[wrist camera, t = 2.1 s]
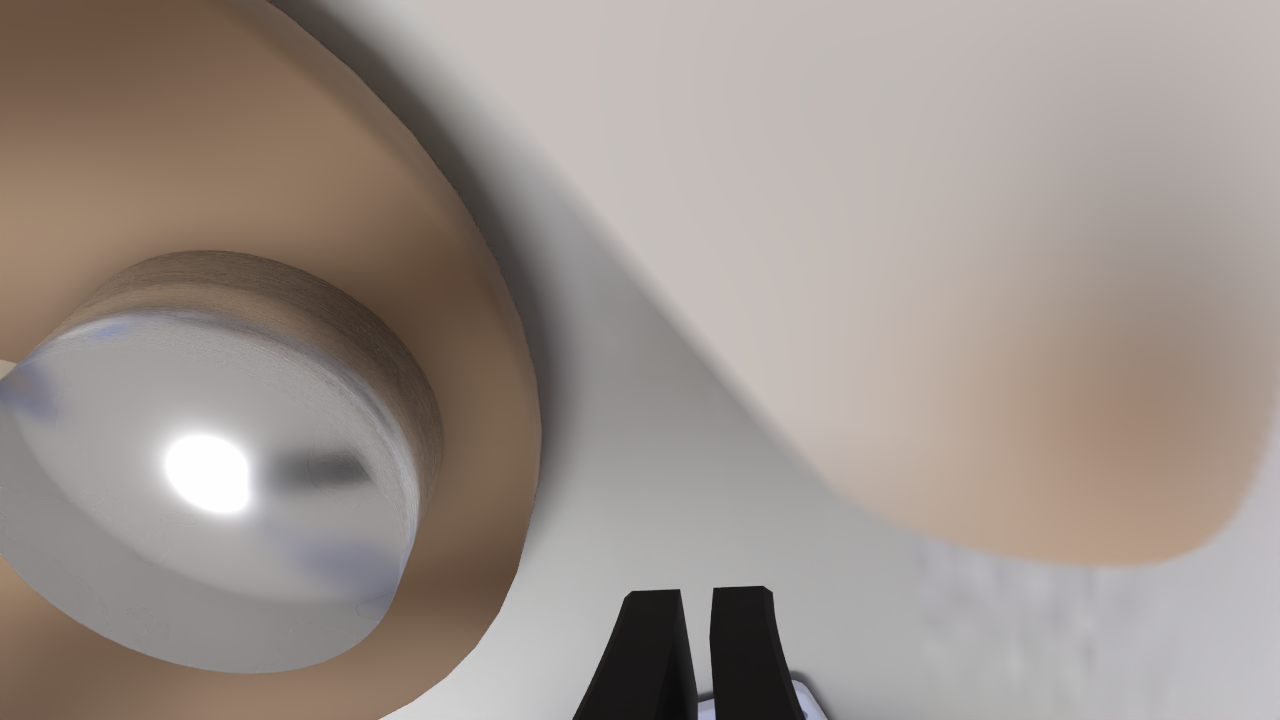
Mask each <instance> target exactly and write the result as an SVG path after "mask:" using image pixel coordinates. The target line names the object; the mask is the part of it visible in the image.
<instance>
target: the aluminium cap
mask: <svg viewBox="0 0 1280 720" xmlns="http://www.w3.org/2000/svg"><path fill="white" fill-rule="evenodd" d="M443 456H444V430H443V424H442V418H441V413H440V409H439V406H438V403H437V400H436V397H435V395H434V392H433V390H432V388H431V386H430V384H429V382H428V379H427V377H426V375H425V373H424V371H423V370H422V368H421V367H420V365H419V364H418V362H417V361H416V359H415V358H414V356H413V355H412V353H411V352H410V351H409V349H408V348H407V347H406V346H405V345H404V343H403V342H402V341H401V340H400V339H399V338H398V336H397V335H396V334H395V333H394V332H393V331H392V330H391V329H390V328H389V327H388V326H387V325H386V324H385V323H384V322H383V321H382V320H380V319H379V318H378V317H377V316H376V315H375V314H374V313H373V312H371V311H370V310H369V309H367V308H366V307H365V306H364V305H362V304H361V303H360V302H358V301H357V300H356V299H354V298H353V297H352V296H350V295H348V294H347V293H345V292H343V291H342V290H340V289H338V288H337V287H335V286H333V285H332V284H330V283H328V282H326V281H324V280H322V279H320V278H318V277H316V276H314V275H312V274H310V273H307V272H305V271H303V270H301V269H298V268H295V267H292V266H290V265H287V264H284V263H281V262H278V261H275V260H271V259H267V258H263V257H259V256H255V255H250V254H245V253H237V252H229V251H216V250H193V251H185V252H177V253H169V254H165V255H161V256H158V257H154V258H150V259H146V260H144V261H142V262H139V263H137V264H135V265H133V266H130V267H128V268H126V269H124V270H123V271H121V272H120V273H118V274H116V275H115V276H113V277H112V278H110V279H109V280H107V281H106V282H105V283H104V284H103V285H102V286H101V287H100V288H99V289H98V290H97V291H96V292H95V293H94V294H92V295H91V296H90V297H89V298H88V299H87V300H86V301H85V302H84V303H83V304H82V305H81V306H80V307H78V308H77V309H76V310H75V311H74V312H73V313H72V314H71V315H70V316H69V317H68V318H67V319H66V320H64V321H63V322H62V323H61V324H60V325H59V326H58V327H57V328H56V329H55V330H54V331H53V332H52V333H51V334H49V335H48V336H47V337H46V338H45V339H44V340H43V341H42V342H41V343H40V344H39V345H38V346H37V347H35V348H34V349H33V350H32V351H31V352H30V353H29V354H28V355H27V356H26V357H25V358H24V359H23V360H21V361H20V362H19V363H18V364H17V365H16V366H15V367H14V368H13V369H12V370H11V371H10V372H9V373H8V374H6V375H5V376H4V377H3V378H2V379H1V380H0V554H1V555H2V557H3V558H4V559H5V560H6V561H7V562H8V564H9V565H10V566H11V567H12V568H13V569H14V570H15V572H16V573H17V574H18V575H19V576H20V577H21V578H22V579H24V580H25V581H26V582H27V583H28V584H29V585H30V586H31V587H32V588H33V589H34V590H35V591H36V592H37V593H39V594H40V595H41V596H43V597H44V598H45V599H46V600H48V601H49V602H50V603H51V604H53V605H54V606H55V607H56V608H58V609H59V610H61V611H62V612H64V613H65V614H67V615H68V616H70V617H71V618H73V619H74V620H76V621H77V622H79V623H80V624H82V625H84V626H86V627H88V628H89V629H91V630H93V631H95V632H96V633H98V634H100V635H102V636H104V637H106V638H108V639H110V640H112V641H115V642H117V643H119V644H121V645H123V646H125V647H128V648H130V649H133V650H136V651H138V652H141V653H143V654H146V655H149V656H151V657H155V658H158V659H162V660H165V661H168V662H172V663H175V664H179V665H184V666H189V667H193V668H198V669H203V670H211V671H219V672H226V673H247V674H256V673H276V672H282V671H289V670H296V669H300V668H304V667H308V666H312V665H315V664H319V663H321V662H324V661H326V660H329V659H331V658H334V657H336V656H338V655H340V654H342V653H344V652H345V651H347V650H349V649H351V648H352V647H354V646H355V645H357V644H358V643H359V642H360V641H362V640H363V639H364V638H365V637H367V636H368V635H369V634H370V633H371V632H372V631H373V630H374V628H375V627H376V626H377V625H378V624H379V623H380V622H381V620H382V619H383V617H384V615H385V614H386V612H387V610H388V609H389V607H390V605H391V603H392V600H393V598H394V595H395V592H396V590H397V587H398V584H399V582H400V579H401V577H402V574H403V571H404V569H405V566H406V563H407V561H408V558H409V555H410V553H411V550H412V547H413V545H414V542H415V539H416V537H417V534H418V531H419V529H420V526H421V523H422V521H423V518H424V516H425V513H426V510H427V508H428V505H429V502H430V500H431V497H432V494H433V492H434V489H435V486H436V483H437V481H438V478H439V475H440V472H441V468H442V462H443Z"/></svg>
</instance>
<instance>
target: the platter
mask: <svg viewBox="0 0 1280 720" xmlns="http://www.w3.org/2000/svg"><path fill="white" fill-rule="evenodd" d="M193 250H216V251H229V252H237V253H245V254H250V255H255V256H259V257H263V258H267V259H271V260H275V261H278V262H281V263H284V264H287V265H290V266H292V267H295V268H298V269H301V270H303V271H305V272H307V273H310V274H312V275H314V276H316V277H318V278H320V279H322V280H324V281H326V282H328V283H330V284H332V285H333V286H335V287H337V288H338V289H340V290H342V291H343V292H345V293H347V294H348V295H350V296H352V297H353V298H354V299H356V300H357V301H358V302H360V303H361V304H362V305H364V306H365V307H366V308H367V309H369V310H370V311H371V312H373V313H374V314H375V315H376V316H377V317H378V318H379V319H380V320H382V321H383V322H384V323H385V324H386V325H387V326H388V327H389V328H390V329H391V330H392V331H393V332H394V333H395V334H396V335H397V336H398V338H399V339H400V340H401V341H402V342H403V343H404V345H405V346H406V347H407V348H408V349H409V351H410V352H411V353H412V355H413V356H414V358H415V359H416V361H417V362H418V364H419V365H420V367H421V368H422V370H423V371H424V373H425V375H426V377H427V379H428V382H429V384H430V386H431V388H432V390H433V392H434V395H435V397H436V400H437V403H438V406H439V409H440V413H441V418H442V424H443V430H444V456H443V462H442V468H441V472H440V475H439V478H438V481H437V483H436V486H435V489H434V492H433V494H432V497H431V500H430V502H429V505H428V508H427V510H426V513H425V516H424V518H423V521H422V523H421V526H420V529H419V531H418V534H417V537H416V539H415V542H414V545H413V547H412V550H411V553H410V555H409V558H408V561H407V563H406V566H405V569H404V571H403V574H402V577H401V579H400V582H399V584H398V587H397V590H396V592H395V595H394V598H393V600H392V603H391V605H390V607H389V609H388V610H387V612H386V614H385V615H384V617H383V619H382V620H381V622H380V623H379V624H378V625H377V626H376V627H375V628H374V630H373V631H372V632H371V633H370V634H369V635H368V636H367V637H365V638H364V639H363V640H362V641H360V642H359V643H358V644H357V645H355V646H354V647H352V648H351V649H349V650H347V651H345V652H344V653H342V654H340V655H338V656H336V657H334V658H331V659H329V660H326V661H324V662H321V663H319V664H315V665H312V666H308V667H304V668H300V669H296V670H289V671H282V672H276V673H256V674H247V673H226V672H219V671H211V670H203V669H198V668H193V667H189V666H184V665H179V664H175V663H172V662H168V661H165V660H162V659H158V658H155V657H151V656H149V655H146V654H143V653H141V652H138V651H136V650H133V649H130V648H128V647H125V646H123V645H121V644H119V643H117V642H115V641H112V640H110V639H108V638H106V637H104V636H102V635H100V634H98V633H96V632H95V631H93V630H91V629H89V628H88V627H86V626H84V625H82V624H80V623H79V622H77V621H76V620H74V619H73V618H71V617H70V616H68V615H67V614H65V613H64V612H62V611H61V610H59V609H58V608H56V607H55V606H54V605H53V604H51V603H50V602H49V601H48V600H46V599H45V598H44V597H43V596H41V595H40V594H39V593H37V592H36V591H35V590H34V589H33V588H32V587H31V586H30V585H29V584H28V583H27V582H26V581H25V580H24V579H22V578H21V577H20V576H19V575H18V574H17V573H16V572H15V570H14V569H13V568H12V567H11V566H10V565H9V564H8V562H7V561H6V560H5V559H4V558H3V557H2V555H1V554H0V720H378V719H380V718H382V717H384V716H386V715H388V714H390V713H392V712H394V711H396V710H397V709H399V708H401V707H403V706H405V705H407V704H409V703H411V702H413V701H414V700H415V699H417V698H418V697H419V696H421V695H422V694H424V693H425V692H426V691H428V690H429V689H430V688H432V687H433V686H434V685H436V684H437V683H439V682H440V681H441V680H443V679H444V678H445V677H447V676H448V675H449V674H450V672H451V671H452V670H453V669H454V668H455V667H456V666H457V665H458V664H459V663H460V662H461V661H462V660H463V659H464V658H465V657H466V656H467V655H468V654H469V653H470V652H471V651H472V650H473V649H474V648H475V647H476V645H477V644H478V643H479V641H480V640H481V638H482V637H483V635H484V634H485V632H486V631H487V629H488V628H489V626H490V625H491V623H492V622H493V620H494V619H495V618H496V616H497V615H498V613H499V612H500V609H501V607H502V605H503V602H504V600H505V598H506V596H507V593H508V591H509V589H510V586H511V584H512V582H513V580H514V577H515V575H516V573H517V570H518V566H519V562H520V558H521V554H522V550H523V546H524V542H525V538H526V534H527V530H528V526H529V522H530V517H531V513H532V509H533V504H534V500H535V496H536V491H537V487H538V483H539V476H540V458H541V440H542V425H541V416H540V407H539V397H538V388H537V379H536V374H535V370H534V366H533V362H532V358H531V355H530V351H529V347H528V343H527V340H526V336H525V332H524V328H523V324H522V321H521V317H520V315H519V313H518V310H517V308H516V306H515V303H514V301H513V298H512V296H511V294H510V291H509V289H508V287H507V284H506V282H505V279H504V277H503V275H502V272H501V270H500V268H499V265H498V263H497V260H496V258H495V256H494V255H493V253H492V251H491V249H490V248H489V246H488V244H487V242H486V241H485V239H484V237H483V236H482V234H481V232H480V230H479V229H478V227H477V225H476V224H475V222H474V220H473V218H472V217H471V215H470V213H469V211H468V210H467V208H466V206H465V205H464V203H463V201H462V199H461V198H460V196H459V195H458V193H457V192H456V191H455V189H454V188H453V187H452V185H451V184H450V183H449V181H448V180H447V179H446V177H445V176H444V175H443V173H442V172H441V171H440V169H439V168H438V167H437V165H436V164H435V163H434V161H433V160H432V159H431V157H430V156H429V155H428V153H427V152H426V151H425V149H424V148H423V147H422V145H421V144H420V143H419V141H418V140H417V139H416V137H415V136H414V135H413V133H412V132H411V131H410V130H409V129H408V128H407V127H406V126H405V125H404V124H403V123H402V122H401V121H400V120H399V119H398V117H397V116H396V115H395V114H394V113H393V112H392V111H391V110H390V109H389V108H388V107H387V106H386V105H385V104H384V103H383V102H382V101H381V100H380V98H379V97H378V96H377V95H376V94H375V93H374V92H373V91H372V90H371V89H370V88H369V87H368V86H367V85H366V84H365V83H364V82H363V81H362V79H361V78H360V77H359V76H358V75H357V74H356V73H355V72H354V71H353V70H352V69H350V68H349V67H348V66H347V65H346V64H344V63H343V62H342V61H341V60H340V59H339V58H337V57H336V56H335V55H334V54H333V53H332V52H330V51H329V50H328V49H327V48H326V47H324V46H323V45H322V44H321V43H320V42H319V41H317V40H316V39H315V38H314V37H313V36H312V35H310V34H309V33H308V32H307V31H306V30H304V29H303V28H302V27H301V26H300V25H299V24H297V23H296V22H295V21H294V20H293V19H291V18H290V17H289V16H288V15H287V14H285V13H284V12H283V11H281V10H280V9H278V8H277V7H275V6H274V5H272V4H271V3H269V2H268V1H266V0H0V380H1V379H2V378H3V377H4V376H5V375H6V374H8V373H9V372H10V371H11V370H12V369H13V368H14V367H15V366H16V365H17V364H18V363H19V362H20V361H21V360H23V359H24V358H25V357H26V356H27V355H28V354H29V353H30V352H31V351H32V350H33V349H34V348H35V347H37V346H38V345H39V344H40V343H41V342H42V341H43V340H44V339H45V338H46V337H47V336H48V335H49V334H51V333H52V332H53V331H54V330H55V329H56V328H57V327H58V326H59V325H60V324H61V323H62V322H63V321H64V320H66V319H67V318H68V317H69V316H70V315H71V314H72V313H73V312H74V311H75V310H76V309H77V308H78V307H80V306H81V305H82V304H83V303H84V302H85V301H86V300H87V299H88V298H89V297H90V296H91V295H92V294H94V293H95V292H96V291H97V290H98V289H99V288H100V287H101V286H102V285H103V284H104V283H105V282H106V281H107V280H109V279H110V278H112V277H113V276H115V275H116V274H118V273H120V272H121V271H123V270H124V269H126V268H128V267H130V266H133V265H135V264H137V263H139V262H142V261H144V260H146V259H150V258H154V257H158V256H161V255H165V254H169V253H177V252H185V251H193Z"/></svg>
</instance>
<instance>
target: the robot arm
mask: <svg viewBox="0 0 1280 720" xmlns="http://www.w3.org/2000/svg"><path fill="white" fill-rule="evenodd" d="M709 638H710V652H711V665H712V679H713V692H714V699H711V700H707V701H703V702H700V703H698V694H697V688H696V682H695V676H694V670H693V664H692V658H691V652H690V646H689V640H688V634H687V628H686V622H685V616H684V610H683V605H682V599H681V593H680V589H673V590H648V591H632V592H631V593H629V594H628V595H627V596H626V597H625V598H624V601H623V604H622V607H621V610H620V613H619V616H618V618H617V621H616V624H615V626H614V629H613V632H612V634H611V637H610V639H609V642H608V644H607V646H606V649H605V651H604V654H603V656H602V658H601V660H600V663H599V665H598V667H597V669H596V672H595V674H594V676H593V678H592V681H591V683H590V685H589V687H588V689H587V691H586V693H585V695H584V697H583V699H582V701H581V703H580V705H579V707H578V709H577V711H576V713H575V715H574V717H573V719H572V720H828V719H827V718H826V716H825V715H824V713H823V711H822V710H821V708H820V707H819V705H818V704H817V702H816V701H815V699H814V698H813V696H812V694H811V693H810V691H809V690H808V688H807V687H806V686H805V685H804V684H803V683H801V682H798V681H796V680H791V677H790V673H789V670H788V667H787V664H786V660H785V657H784V654H783V650H782V646H781V642H780V638H779V634H778V629H777V625H776V619H775V612H774V601H773V592H771V591H770V590H768V589H767V588H765V587H764V586H746V587H722V588H714V589H713V599H712V610H711V623H710V637H709Z"/></svg>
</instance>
